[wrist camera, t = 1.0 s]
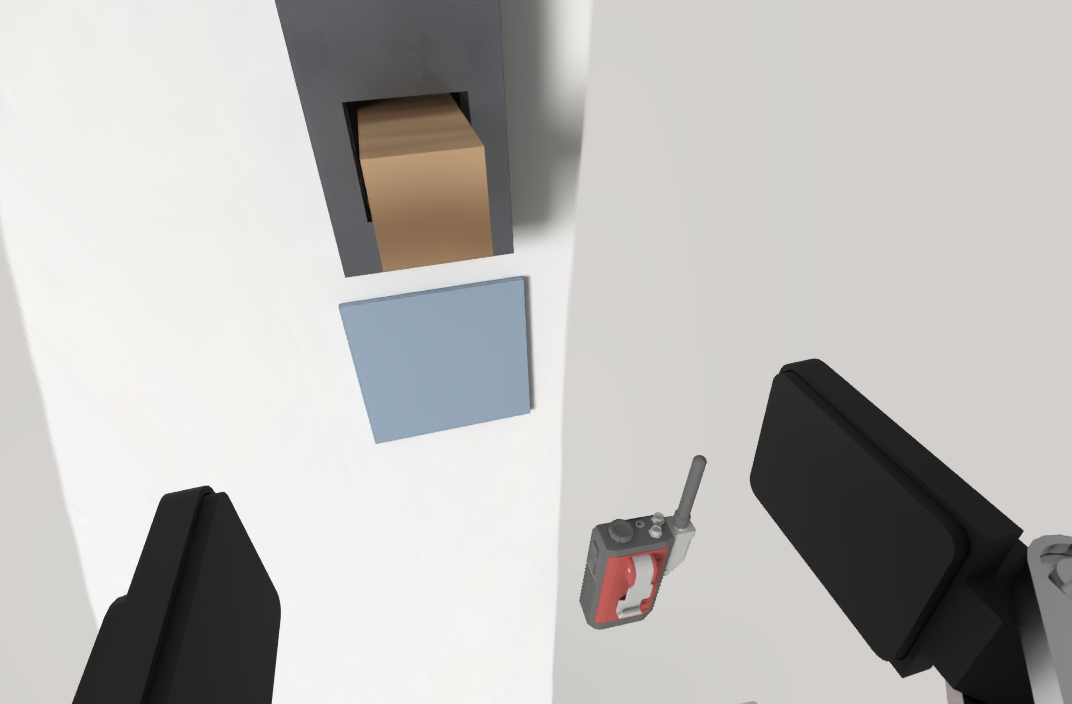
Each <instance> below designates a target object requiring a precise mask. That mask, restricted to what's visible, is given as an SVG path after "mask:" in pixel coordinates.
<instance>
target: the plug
mask: <svg viewBox="0 0 1072 704" xmlns="http://www.w3.org/2000/svg"><path fill="white" fill-rule="evenodd" d="M357 113H358V132H359V151H360V162H361V167H362V172H363V177H364V181H365V186H366V191H367V196H368V201H369V205H370V210H371V215H372V220H373V225H374V229H375V234H376V239H377V244H378V248H379V253H380V258H381V263H382V268H383V272H388V271H395V270H402V269H409V268H415V267H422V266H429V265H436V264H443V263H450V262H457V261H463V260H470V259H477V258H484V257H491V256H493V248H492V236H491V223H490V211H489V199H488V187H487V174H486V162H485V150H484V145H483V144H482V142H481V141H480V139H479V138H478V136H477V135H476V133H475V131H474V130H473V128H472V127H471V125H470V124H469V122H468V121H467V119H466V118H465V116H464V115H463V113H462V112H461V110H460V108H459V107H458V105H457V104H456V102H455V101H454V99H453V98H452V96H451V95H450V93H440V94H429V95H418V96H406V97H395V98H384V99H373V100H362V101H357Z"/></svg>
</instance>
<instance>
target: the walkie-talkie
mask: <svg viewBox="0 0 1072 704" xmlns="http://www.w3.org/2000/svg"><path fill="white" fill-rule="evenodd" d="M706 462H707V461H706V459H705V457H704V456H701V455H698V456H695V457H694V458H693V462H692V465H691V468H690V471H689V475H688V478H687V481H686V485H685V488H684V491H683V495H682V498H681V501H680V504H679V507H678V510H676V511H675V514H674V516H669V517H664V516H663V515H662V514H661V513H655V515H650V516H644V517H638V518H633V519H627V520H622V519H616V520H614V521H612V522H610V523H604V524H599V525H597V526H596V527H595V528H593V529H592V535H591V540H590V545H589V551H588V556H587V564H586V568H585V572H584V573H585V574H584V578H583V585H582V589H581V593H580V594H581V596H580V600H579V601H580V604H581V606H582V609H583V612H584V615H585V618H586V621H587V624H589V625H590V626H591V627H593V628H595V629H606V628H610V627H614V626H619V625H623V624H628V623H632V622H637V621H641V620H643V619H644V618H645V617H646V616H647V615H648V614H649V613H650V612H651V611H652V610H653V607H654V603H655V600H656V597H657V593H658V590H659V587H660V583H661V582H662V581H661V580H662V579H663V576H666V575H668V574H669V573H670V572H671V571H672V570H674V569H675V568H676V567H677V566H678V565H679V564H681V563H682V562H683V561H684V558H685V556H686V553H687V550H688V547H689V544H690V541H691V539H692V538H693V536H694V534H695V531H696V530H695V528H694V526H693V525H692V523H691V521H690V518H691V515H690V512H691V509H692V506H693V503H694V500H695V497H696V494H697V490H698V488H699V484H700V481H701V478H702V475H703V472H704V469H705V466H706Z"/></svg>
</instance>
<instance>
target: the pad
mask: <svg viewBox="0 0 1072 704" xmlns="http://www.w3.org/2000/svg"><path fill="white" fill-rule="evenodd" d="M339 310H340V314H341V318H342V321H343V325H344V329H345V333H346V336H347V340H348V344H349V347H350V351H351V355H352V358H353V362H354V366H355V369H356V373H357V377H358V380H359V384H360V388H361V391H362V395H363V399H364V403H365V406H366V410H367V414H368V417H369V421H370V425H371V428H372V432H373V436H374V439H375V443H376V444H378V443H383V442H388V441H393V440H398V439H403V438H408V437H413V436H418V435H423V434H428V433H433V432H438V431H443V430H448V429H453V428H458V427H463V426H468V425H473V424H478V423H483V422H488V421H493V420H498V419H503V418H508V417H513V416H518V415H523V414H528V413H530V399H529V379H528V358H527V338H526V317H525V297H524V279H523V277H522V276H520V277H513V278H507V279H500V280H494V281H487V282H481V283H474V284H467V285H461V286H454V287H448V288H441V289H435V290H428V291H422V292H415V293H409V294H402V295H396V296H389V297H383V298H376V299H370V300H363V301H357V302H350V303H344V304H339Z"/></svg>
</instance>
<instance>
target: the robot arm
mask: <svg viewBox="0 0 1072 704" xmlns="http://www.w3.org/2000/svg"><path fill="white" fill-rule="evenodd" d="M750 484H751V488H752V490H753V493H754V494H755V496H756V497H757V499H758V500H759V501H760V503H761V504H762V505H763V507H764V508H765V509H766V511H767V512H768V513H769V515H770V516H771V517H772V519H773V520H774V521H775V522H776V524H777V525H778V526H779V528H780V529H781V530H782V532H783V533H784V534H785V536H786V537H787V538H788V540H789V541H790V542H791V543H792V545H793V546H794V547H795V549H796V550H797V551H798V553H799V554H800V555H801V557H802V558H803V559H804V561H805V562H806V563H807V564H808V566H809V567H810V569H811V570H812V571H813V572H814V574H815V575H816V576H817V578H818V579H819V580H820V582H821V583H822V584H823V585H824V587H825V588H826V589H827V591H828V592H829V594H830V595H831V596H832V597H833V599H834V600H835V601H836V603H837V604H838V605H839V607H840V608H841V609H842V611H843V612H844V613H845V615H846V616H847V617H848V619H849V620H850V621H851V623H852V624H853V625H854V626H855V627H856V629H857V630H858V632H859V633H860V634H861V635H862V637H863V638H864V640H865V641H866V642H867V644H868V645H869V646H870V647H871V649H872V650H873V651H874V652H875V653H876V655H878V656H879V657H880V658H881V659H882V660H885V661H889V662H890V663H891V664H892V665H893V667H894V668H895V669H896V671H897V672H898V673H899V674H900V676H901V677H902V678H904V677H907V676H910V675H913V674H916V673H919V672H922V671H925V670H928V669H930V668H931V667H932V666H933V665H934V667H936V669H937V670H938V671H939V673H940V674H941V675H942V676H943V677H944V679H945V680H946V690H947V700H948V704H1072V537H1070V536H1064V535H1047V536H1042V537H1040V538H1037V539H1035V540H1033V541H1032V543H1031V544H1030V546H1029V547H1027V546H1026V545H1025V544H1023V543H1022V542H1021V541H1020V540H1019V539H1018V538H1019V537H1020V536H1021V534H1022V533H1023V530H1022V529H1021V528H1020V527H1018V526H1017V525H1016V524H1015V523H1014V522H1012V520H1010V519H1009V518H1008V517H1007V516H1006V515H1004V514H1003V513H1002V512H1001V511H1000V510H998V509H997V508H996V507H995V506H994V505H993V504H991V503H990V502H989V501H988V500H987V499H985V498H984V497H983V496H982V495H981V494H980V493H978V492H977V491H976V490H975V489H973V488H972V487H971V486H970V485H969V484H968V483H966V482H965V481H964V480H963V479H962V478H961V477H959V476H958V475H957V474H956V473H955V472H953V471H952V470H951V469H950V468H948V466H946V465H945V464H944V463H943V462H942V461H940V460H939V459H938V458H937V457H936V456H934V455H933V454H932V453H931V452H930V451H929V450H927V449H926V448H925V447H924V446H923V445H921V444H920V443H919V442H918V441H917V440H916V439H914V438H913V437H912V436H911V435H909V434H908V433H907V432H906V431H905V430H904V429H902V428H901V427H900V426H899V425H898V424H897V423H895V422H894V421H893V420H892V419H891V418H889V417H888V416H887V415H886V414H885V413H883V412H882V411H881V410H880V409H879V408H878V407H876V406H875V405H874V404H873V403H872V402H870V401H869V400H868V399H867V398H866V397H865V396H863V395H862V394H861V393H860V392H859V391H857V390H856V389H855V388H854V387H853V386H852V385H850V384H849V383H848V382H847V381H846V380H844V379H843V378H842V377H841V376H840V375H838V374H837V373H836V372H835V371H834V370H833V369H831V368H830V367H829V366H828V365H827V364H825V363H824V362H823V361H821V360H819V359H809V360H804V361H800V362H795V363H790V364H786V365H784V366H783V367H782V368H781V370H780V372H779V374H777V375H776V376H775V377H774V379H773V383H772V387H771V391H770V395H769V399H768V404H767V408H766V412H765V416H764V420H763V424H762V428H761V433H760V437H759V441H758V445H757V449H756V454H755V457H754V462H753V466H752V470H751V474H750ZM280 619H281V606H280V600H279V596H278V593H277V591H276V589H275V587H274V585H273V583H272V581H271V579H270V577H269V575H268V573H267V571H266V569H265V567H264V565H263V564H262V562H261V560H260V558H259V556H258V554H257V552H256V550H255V548H254V546H253V544H252V542H251V540H250V538H249V536H248V534H247V532H246V530H245V528H244V526H243V524H242V522H241V520H240V518H239V516H238V514H237V512H236V510H235V508H234V506H233V504H232V502H231V500H230V499H229V497H228V495H227V494H226V493H225V492H220V493H215V492H214V491H213V489H212V488H211V487H210V486H201V487H197V488H192V489H187V490H182V491H178V492H173V493H168V494H165V495H164V496H163V497H162V499H161V500H160V502H159V505H158V508H157V511H156V514H155V516H154V519H153V522H152V525H151V528H150V531H149V533H148V536H147V539H146V542H145V545H144V548H143V550H142V553H141V556H140V559H139V562H138V565H137V567H136V570H135V573H134V576H133V579H132V582H131V584H130V587H129V590H128V593H127V595H124V596H122V597H119V598H117V599H116V600H115V601H114V602H113V603H112V604H111V605H110V607H109V609H108V611H107V613H106V615H105V617H104V619H103V622H102V625H101V627H100V630H99V633H98V635H97V638H96V641H95V643H94V646H93V649H92V652H91V654H90V657H89V660H88V662H87V665H86V668H85V670H84V673H83V676H82V678H81V681H80V684H79V686H78V689H77V692H76V694H75V697H74V700H73V702H72V704H272V695H273V685H274V676H275V666H276V657H277V647H278V638H279V628H280Z"/></svg>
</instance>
